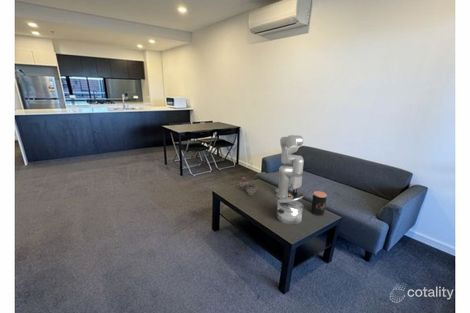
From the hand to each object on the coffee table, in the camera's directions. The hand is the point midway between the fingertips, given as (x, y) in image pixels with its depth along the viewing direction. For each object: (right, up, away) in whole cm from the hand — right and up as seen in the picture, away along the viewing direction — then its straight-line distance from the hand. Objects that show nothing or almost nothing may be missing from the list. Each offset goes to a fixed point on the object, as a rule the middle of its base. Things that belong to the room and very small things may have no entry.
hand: (294, 195), depth 174 cm
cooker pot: (-3, -19, +8) cm, 21 cm away
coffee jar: (+24, -18, +18) cm, 35 cm away
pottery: (-34, -5, +55) cm, 65 cm away
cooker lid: (-2, -3, +4) cm, 6 cm away
